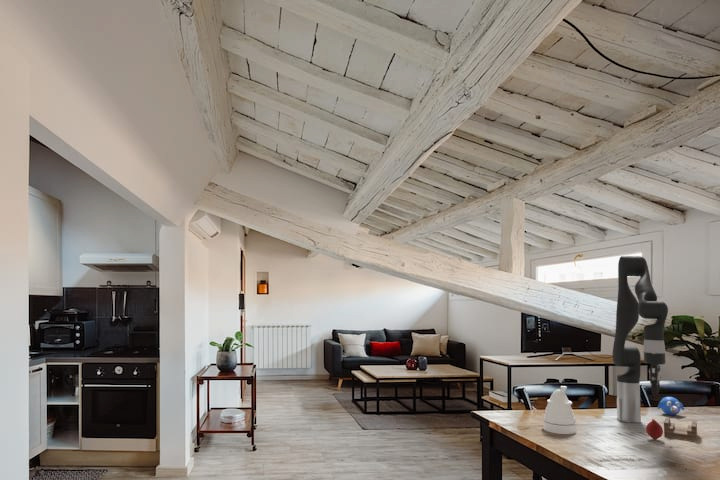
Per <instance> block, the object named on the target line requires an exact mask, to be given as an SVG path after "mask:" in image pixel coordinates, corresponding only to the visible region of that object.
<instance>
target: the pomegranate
mask: <svg viewBox="0 0 720 480" xmlns="http://www.w3.org/2000/svg"><path fill="white" fill-rule="evenodd" d="M645 426H646V427H645V432H646V433H647V435H648V436H649V437H650V438H651V439H652V440H653V441H656V440H658V439H660V438H661V437H662V436H663V435H664V428H663V427H662V426H661V424H660V423H658V421H656V420H655V419H654V418H652V419H651V421H650V422H648V423H647V425H645Z"/></svg>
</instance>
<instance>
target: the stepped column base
mask: <svg viewBox="0 0 720 480" xmlns="http://www.w3.org/2000/svg"><path fill="white" fill-rule="evenodd" d="M663 437H665V438H670V439H671V438H672V439H679V440H684V439H686V440H685V441H691V440H692V442H697V439H698V421H697V420H692V421H691V424H688V425H687V428H686V427H680V426H679V427H678V426H675V422H671V417H668V416H667V417H665V418H664V421H663Z"/></svg>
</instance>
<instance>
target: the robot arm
mask: <svg viewBox="0 0 720 480" xmlns="http://www.w3.org/2000/svg"><path fill="white" fill-rule="evenodd" d="M617 265H618V266H617V276H618V277H617V278H618V281H617V285H618V287H617V300H616V301H617V303H616V314H615V319H616V320H615V333H614V339H613V345H612V361H613V362H612V363H613V364H614V365H615V366H616V367H621V368H622V367H625V368H627V369H626V370H625V371H623V372H620V373H618V374H617V376H616V382H617V383H616V386H617V389H616V391H617V397H616V418H617V419H618V421H620V422H626V423H641V422H642V419H641V418H642V415H641V413H642V412H641V409H642V408H641V389H640V388H641V386H640V385H641V383H640V382H641V381H640V379H641V363H642V362H641V360H642V359H641V358H642V357H641V352H640V349H639V348H638V347H637V346H631V345H630V346H629V345H628V346H627V345H626V340H627V338H628V336H629V334H631V332H632V330H633V329H634V328H635V326H636V325H637V323H638V322H639V318H640V317H641V318H643V319H645V320H646V319H647V320H648V319H649V320H650V319H652V320H653V319H654V320H655V322H654V323H651V324H650V323H649V324H647V325H644V326H643V361H644V362H643V363H645V364H648V365H649V364H650V367H649V368H648V373H649V383H650V386H651V388H650V389H651V395H652V396H653V395H655V396H658V395H659V392H661V390H660V389H661V388H660V387H661V386H660V384H661V383H660V382H661V378H662V377H661V376H662V375H661V374H662V368H661V365H666V363H667V362H666V345H665V335H664V334H665V324H666V320H667V317H668V314H669V307H668V305H667V304H666V302H664V301H659V300H658V296H657V293H656V291H655V289H654V287H653V284H652V281H651V275H650V271H649V266H648V262H647V260H646V258H645V257H644V256H641V255H640V256H639V255H621V256H620V257H619V259H618V263H617ZM628 277H639V279H638V281H637V282H636V283H635V286H634V292H635V295H636V296H635V295H634V293H633V291H632V290H631V288H630V285H629V282H628ZM625 345H626V346H625Z"/></svg>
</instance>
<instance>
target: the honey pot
mask: <svg viewBox="0 0 720 480" xmlns="http://www.w3.org/2000/svg"><path fill="white" fill-rule="evenodd" d="M567 389H568V386H566V385H561V386H560V387H559V388H558V389H555V390H554V391H553V392H552V393H551V395H550V398H549V399H547V400H546V401H547V404H546V407H545V411H544V414H543V416H542V418H543V421H542V423H543V425H542V426H543V427H542V428H543V430H544V431H545V432H549V433H552V434H561V435H573V434H576V433H577V423H576V421H577V418H576V416H575V413H574V410H573V408H572V405H573V402H572V401H571V400H569V398H568V396H567V394H566V393H565V392H566V391H567Z"/></svg>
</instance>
